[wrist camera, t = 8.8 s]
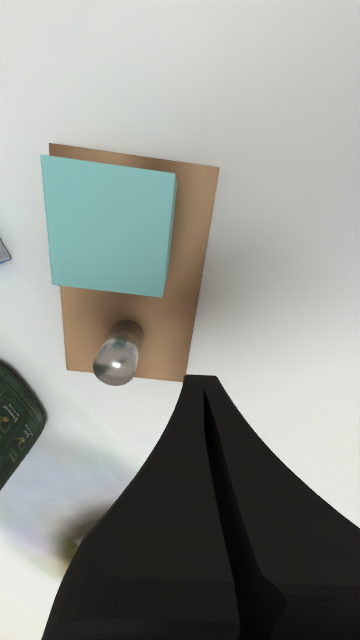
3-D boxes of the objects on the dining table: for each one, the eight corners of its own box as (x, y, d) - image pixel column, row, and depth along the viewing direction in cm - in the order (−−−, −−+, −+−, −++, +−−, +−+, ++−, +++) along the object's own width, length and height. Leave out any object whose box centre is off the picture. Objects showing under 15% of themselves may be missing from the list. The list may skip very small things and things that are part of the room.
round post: (145, 321, 19) (135, 353, 15) (143, 350, 20) (133, 387, 16) (111, 318, 19) (92, 348, 15) (111, 347, 20) (93, 383, 16)
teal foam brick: (177, 185, 15) (175, 173, 10) (168, 268, 17) (162, 297, 12) (91, 173, 15) (40, 154, 10) (93, 259, 17) (52, 284, 12)
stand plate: (217, 169, 16) (219, 167, 15) (184, 376, 22) (184, 382, 21) (55, 145, 15) (48, 142, 14) (70, 364, 22) (66, 370, 21)
